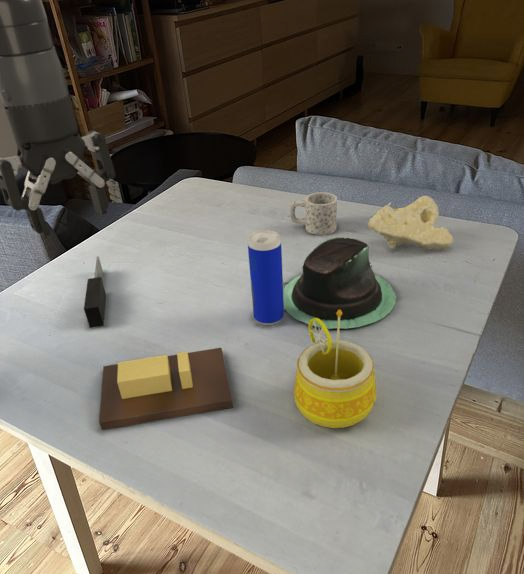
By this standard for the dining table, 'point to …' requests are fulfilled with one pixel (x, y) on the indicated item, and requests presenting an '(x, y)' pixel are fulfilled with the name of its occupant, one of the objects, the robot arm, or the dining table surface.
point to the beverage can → (266, 276)
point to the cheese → (412, 225)
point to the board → (169, 393)
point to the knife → (95, 298)
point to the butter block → (144, 376)
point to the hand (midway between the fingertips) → (73, 223)
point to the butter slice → (184, 370)
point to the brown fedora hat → (339, 287)
